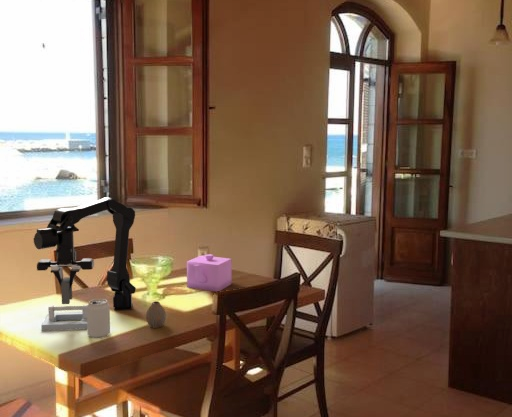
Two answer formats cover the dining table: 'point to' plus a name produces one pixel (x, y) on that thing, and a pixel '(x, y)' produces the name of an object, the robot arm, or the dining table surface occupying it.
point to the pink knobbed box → (209, 273)
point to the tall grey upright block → (66, 290)
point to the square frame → (65, 318)
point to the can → (98, 318)
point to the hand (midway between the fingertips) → (66, 288)
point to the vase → (156, 315)
